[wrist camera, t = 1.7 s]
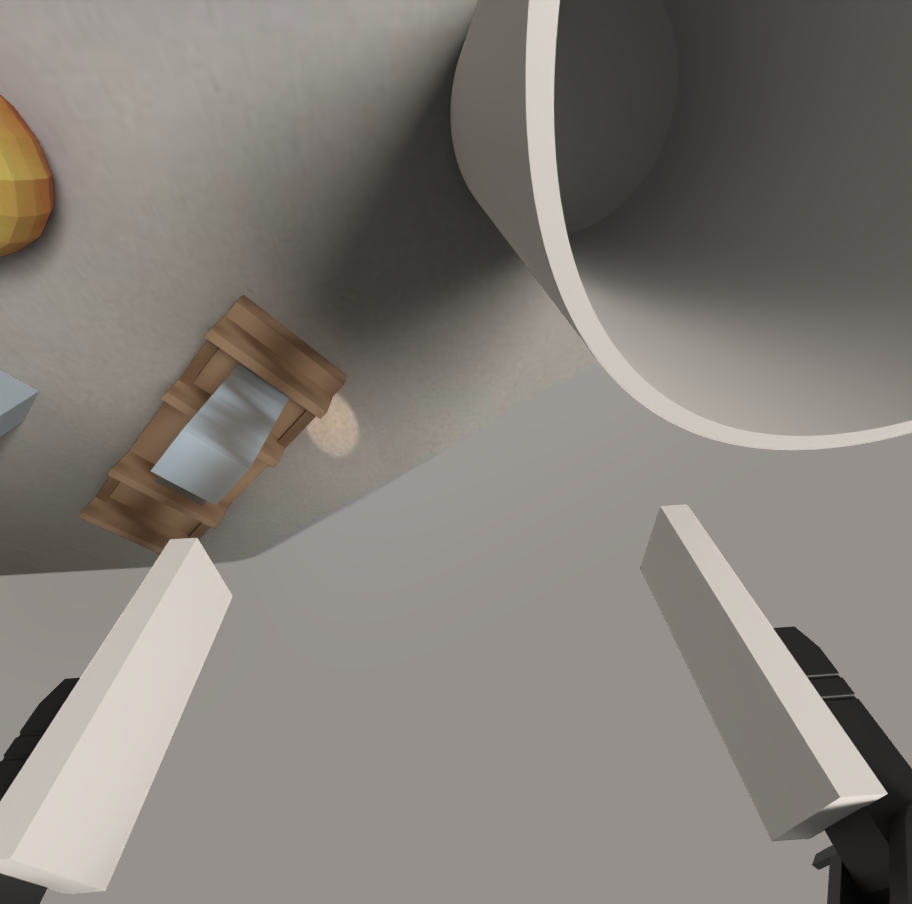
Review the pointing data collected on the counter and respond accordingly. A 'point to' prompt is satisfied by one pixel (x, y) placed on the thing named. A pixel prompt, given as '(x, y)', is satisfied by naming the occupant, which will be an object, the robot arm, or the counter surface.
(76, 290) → the counter surface
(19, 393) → the blue post
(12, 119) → the apple
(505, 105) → the cylinder vase
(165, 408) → the rail
